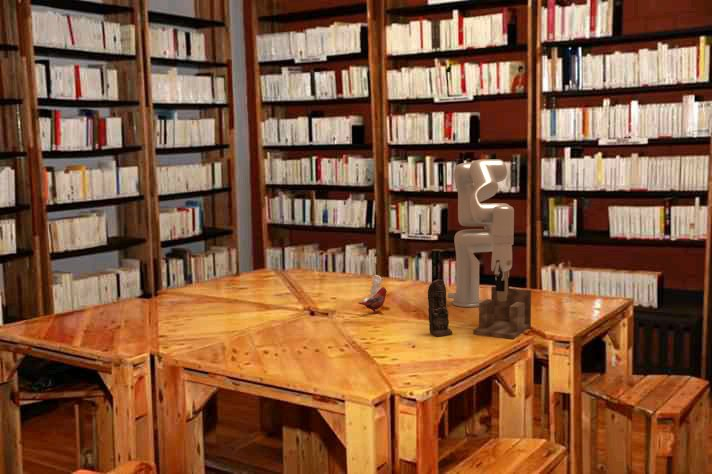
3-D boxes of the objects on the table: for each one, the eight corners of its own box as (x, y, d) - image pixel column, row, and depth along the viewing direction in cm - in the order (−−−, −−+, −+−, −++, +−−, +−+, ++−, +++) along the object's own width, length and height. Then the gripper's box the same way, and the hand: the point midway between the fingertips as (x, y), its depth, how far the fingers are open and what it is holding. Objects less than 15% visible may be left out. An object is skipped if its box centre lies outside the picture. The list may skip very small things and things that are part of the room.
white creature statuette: (361, 304, 342) (360, 276, 340) (368, 300, 350) (368, 272, 348) (382, 305, 339) (382, 277, 337) (389, 301, 346) (389, 274, 345)
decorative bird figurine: (389, 310, 329) (389, 286, 328) (360, 318, 316) (360, 293, 315) (384, 309, 331) (384, 285, 330) (355, 317, 318) (354, 292, 317)
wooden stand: (473, 334, 291) (473, 296, 289) (492, 322, 308) (492, 286, 306) (513, 339, 284) (514, 300, 282) (530, 326, 301) (531, 289, 299)
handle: (508, 303, 290) (509, 261, 288) (491, 301, 293) (492, 260, 291) (512, 300, 294) (513, 259, 292) (495, 298, 297) (495, 258, 295)
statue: (437, 337, 287) (437, 282, 285) (426, 332, 294) (426, 278, 291) (453, 334, 291) (453, 280, 288) (442, 330, 297) (442, 277, 294)
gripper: (500, 236, 300) (500, 285, 302) (484, 242, 285) (484, 293, 288) (520, 237, 296) (519, 286, 298) (505, 243, 282) (504, 295, 284)
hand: (502, 289), depth 293 cm, fingers closed on handle, 3 cm apart
